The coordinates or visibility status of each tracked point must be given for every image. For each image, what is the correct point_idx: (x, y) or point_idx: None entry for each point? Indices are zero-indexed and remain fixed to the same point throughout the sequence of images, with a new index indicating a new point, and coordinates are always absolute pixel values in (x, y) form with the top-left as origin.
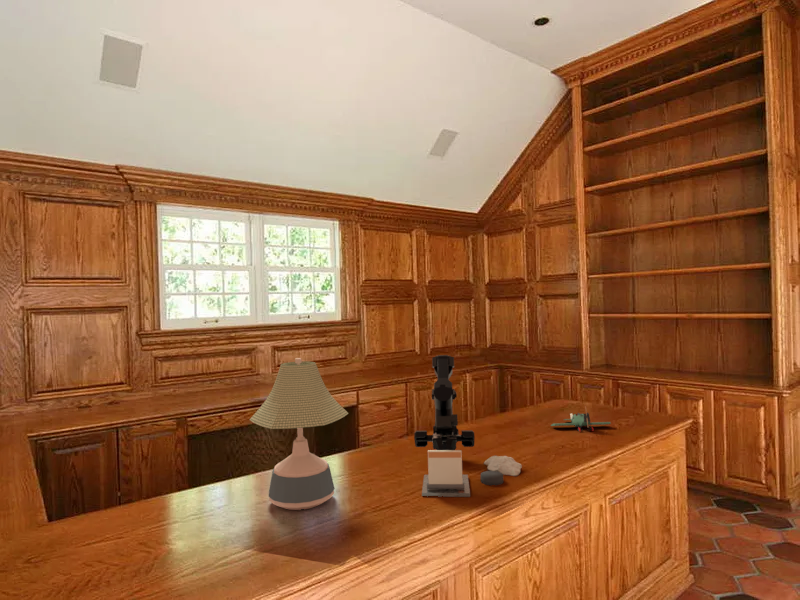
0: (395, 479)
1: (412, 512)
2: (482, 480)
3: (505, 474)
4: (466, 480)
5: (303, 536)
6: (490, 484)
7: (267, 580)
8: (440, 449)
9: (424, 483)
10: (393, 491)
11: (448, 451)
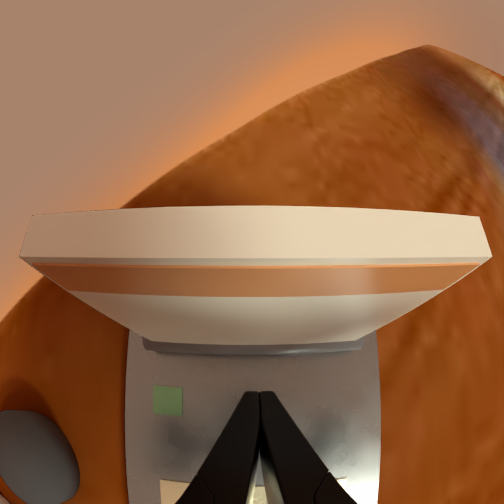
0: (478, 466)
1: (361, 160)
2: (65, 450)
3: (6, 500)
4: (135, 464)
5: (485, 112)
6: (43, 416)
7: (440, 54)
8: (333, 499)
9: (373, 419)
10: (473, 337)
11: (197, 208)
